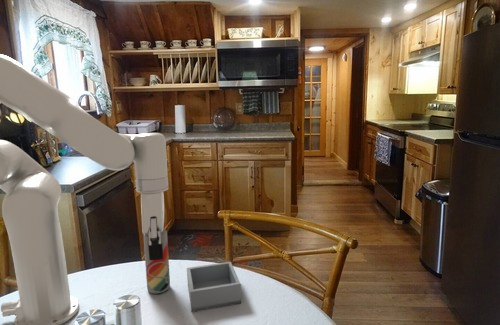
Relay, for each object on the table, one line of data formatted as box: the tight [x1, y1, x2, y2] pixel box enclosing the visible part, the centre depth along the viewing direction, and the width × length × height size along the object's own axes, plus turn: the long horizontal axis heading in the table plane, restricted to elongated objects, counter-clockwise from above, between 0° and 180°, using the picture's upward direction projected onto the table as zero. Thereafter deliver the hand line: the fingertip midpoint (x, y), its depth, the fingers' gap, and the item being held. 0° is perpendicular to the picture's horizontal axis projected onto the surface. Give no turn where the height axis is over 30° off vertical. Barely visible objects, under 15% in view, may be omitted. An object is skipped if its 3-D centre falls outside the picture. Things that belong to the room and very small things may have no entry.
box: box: [186, 261, 242, 313], centre depth 83 cm, size 12×12×5 cm
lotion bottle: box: [143, 217, 171, 294], centre depth 84 cm, size 6×6×20 cm
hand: (156, 253), depth 84 cm, fingers closed on lotion bottle, 5 cm apart
